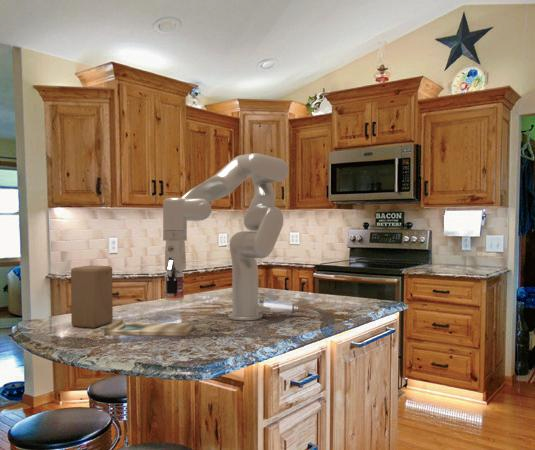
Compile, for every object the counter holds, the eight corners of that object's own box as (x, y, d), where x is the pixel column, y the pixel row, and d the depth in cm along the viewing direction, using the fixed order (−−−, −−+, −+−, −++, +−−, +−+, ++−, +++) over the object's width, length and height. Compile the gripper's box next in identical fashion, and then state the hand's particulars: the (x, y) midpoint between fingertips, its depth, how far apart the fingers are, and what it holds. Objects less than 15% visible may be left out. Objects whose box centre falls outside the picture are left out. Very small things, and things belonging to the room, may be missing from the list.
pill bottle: (187, 299, 147) (187, 264, 147) (168, 301, 143) (168, 265, 143) (179, 297, 152) (179, 263, 152) (161, 298, 148) (161, 264, 148)
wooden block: (113, 322, 161) (113, 265, 161) (94, 328, 151) (93, 268, 151) (90, 320, 164) (90, 265, 164) (70, 326, 154) (69, 267, 154)
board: (194, 326, 153) (194, 319, 153) (187, 335, 141) (187, 327, 141) (118, 326, 154) (117, 319, 154) (104, 335, 142) (104, 327, 142)
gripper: (180, 236, 139) (180, 296, 139) (191, 235, 156) (191, 288, 156) (156, 236, 139) (155, 295, 139) (169, 235, 156) (169, 288, 156)
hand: (174, 291), depth 147 cm, fingers closed on pill bottle, 6 cm apart
